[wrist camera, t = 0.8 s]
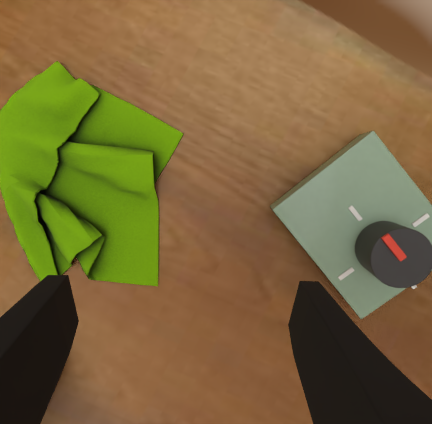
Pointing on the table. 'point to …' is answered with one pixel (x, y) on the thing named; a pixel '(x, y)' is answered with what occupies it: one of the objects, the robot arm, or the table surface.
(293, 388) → the table surface
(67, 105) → the cloth
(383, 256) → the dial
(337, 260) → the dial panel
